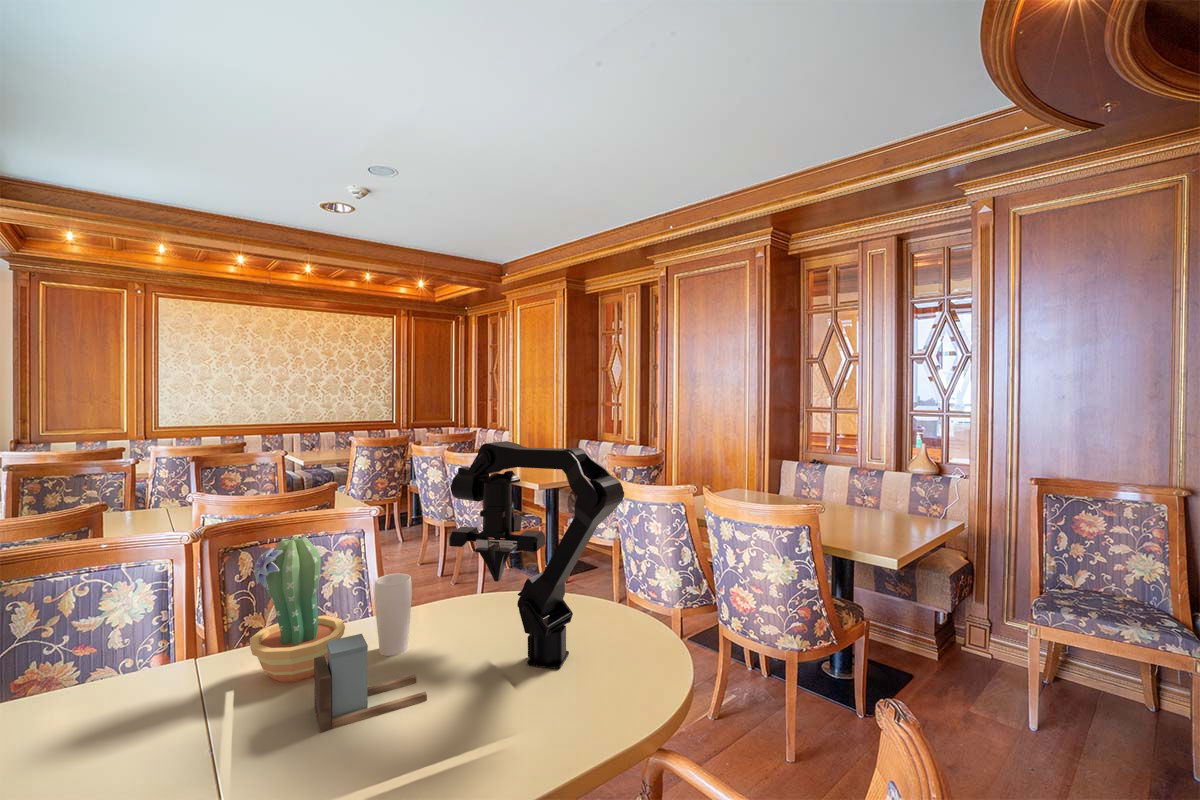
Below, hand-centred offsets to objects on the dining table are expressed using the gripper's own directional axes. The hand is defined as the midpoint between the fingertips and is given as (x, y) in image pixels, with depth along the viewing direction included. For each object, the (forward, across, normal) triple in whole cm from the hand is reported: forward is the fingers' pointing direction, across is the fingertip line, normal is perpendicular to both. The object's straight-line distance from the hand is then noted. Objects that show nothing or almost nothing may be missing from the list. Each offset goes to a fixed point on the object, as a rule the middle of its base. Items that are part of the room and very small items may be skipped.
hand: (497, 580), depth 113 cm
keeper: (+12, +13, +29) cm, 34 cm away
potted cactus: (+13, +30, +19) cm, 38 cm away
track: (+13, +10, +27) cm, 31 cm away
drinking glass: (+13, +18, +8) cm, 24 cm away
